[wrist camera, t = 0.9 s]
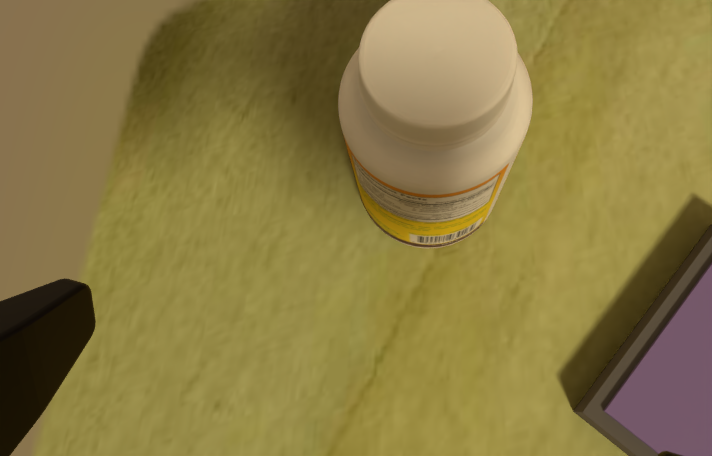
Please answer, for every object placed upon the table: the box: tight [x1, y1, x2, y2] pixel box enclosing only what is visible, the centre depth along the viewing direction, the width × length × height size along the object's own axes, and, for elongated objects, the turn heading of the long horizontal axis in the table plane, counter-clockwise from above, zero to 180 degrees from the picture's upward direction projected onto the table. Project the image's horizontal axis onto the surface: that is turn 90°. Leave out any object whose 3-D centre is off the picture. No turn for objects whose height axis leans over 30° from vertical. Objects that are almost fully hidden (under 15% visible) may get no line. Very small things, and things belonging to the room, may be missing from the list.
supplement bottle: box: [338, 0, 533, 248], centre depth 20 cm, size 6×6×10 cm
